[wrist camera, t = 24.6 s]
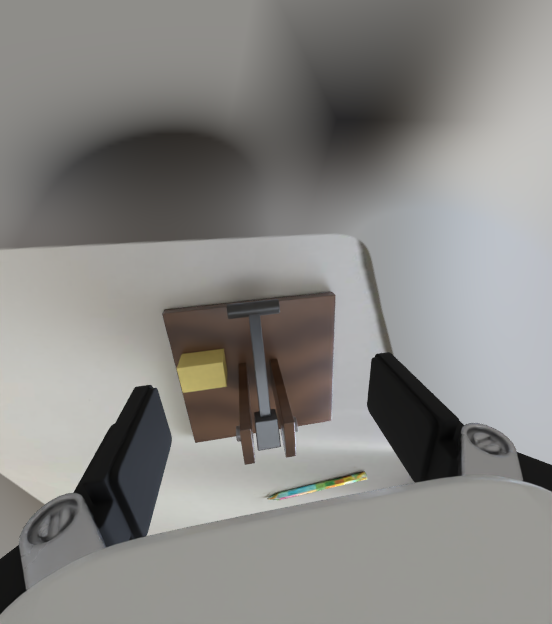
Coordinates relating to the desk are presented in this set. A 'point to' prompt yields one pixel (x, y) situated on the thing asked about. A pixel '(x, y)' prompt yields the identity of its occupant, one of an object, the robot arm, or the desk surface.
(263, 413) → the lever
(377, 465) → the desk surface
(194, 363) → the butter
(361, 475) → the pencil
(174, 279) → the desk surface
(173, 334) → the slicer
